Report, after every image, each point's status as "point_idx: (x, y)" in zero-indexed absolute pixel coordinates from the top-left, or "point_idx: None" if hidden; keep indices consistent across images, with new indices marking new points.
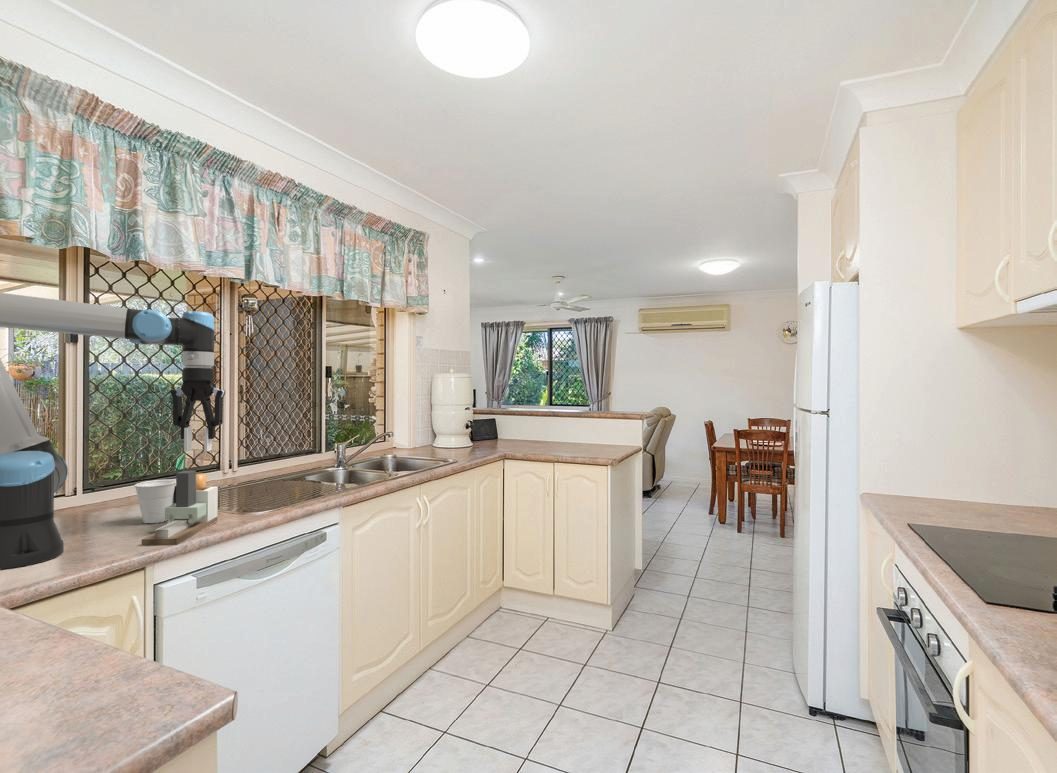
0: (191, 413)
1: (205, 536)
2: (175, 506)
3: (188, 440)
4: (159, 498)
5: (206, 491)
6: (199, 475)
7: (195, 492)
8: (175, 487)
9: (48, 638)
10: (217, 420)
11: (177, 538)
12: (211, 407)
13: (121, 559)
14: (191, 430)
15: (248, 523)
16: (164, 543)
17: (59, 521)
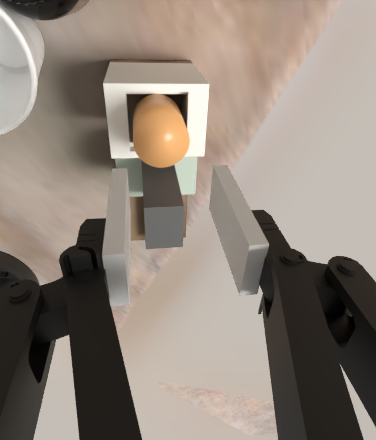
0: (124, 369)
1: None
2: (135, 183)
3: (129, 234)
4: (26, 98)
5: (199, 155)
6: (176, 160)
7: (175, 171)
8: (7, 2)
9: (201, 394)
10: (342, 328)
11: (185, 235)
12: (351, 410)
13: (141, 284)
14: (125, 243)
15: (272, 88)
16: None
17: None
